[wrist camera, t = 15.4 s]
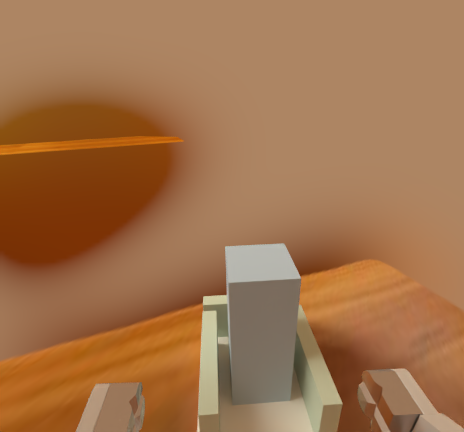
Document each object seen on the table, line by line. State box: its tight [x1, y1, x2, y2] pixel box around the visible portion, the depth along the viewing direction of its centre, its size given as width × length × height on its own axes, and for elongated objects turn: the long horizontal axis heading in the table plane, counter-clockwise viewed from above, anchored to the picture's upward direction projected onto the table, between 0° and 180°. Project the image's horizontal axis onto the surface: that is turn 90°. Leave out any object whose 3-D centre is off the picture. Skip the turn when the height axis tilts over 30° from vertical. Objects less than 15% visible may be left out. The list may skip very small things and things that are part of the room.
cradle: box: [197, 295, 343, 432], centre depth 28 cm, size 12×14×6 cm
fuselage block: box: [225, 244, 301, 405], centre depth 26 cm, size 6×6×14 cm
